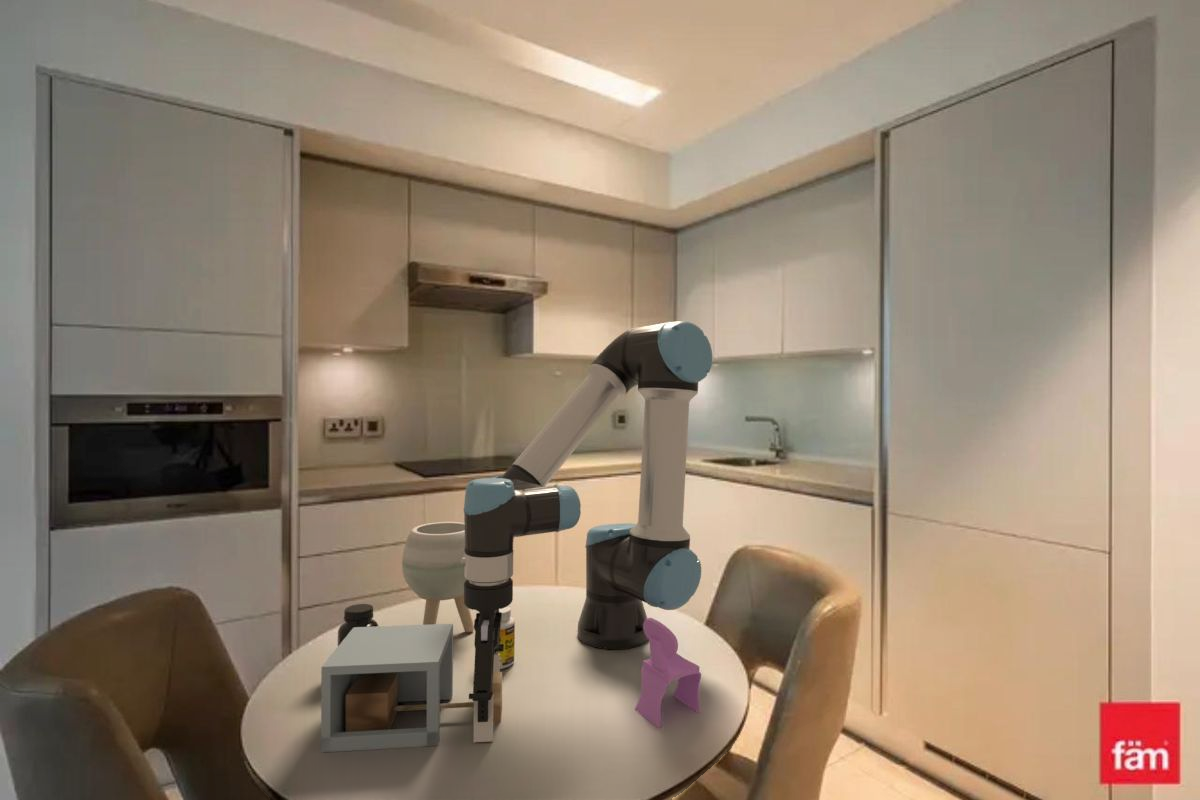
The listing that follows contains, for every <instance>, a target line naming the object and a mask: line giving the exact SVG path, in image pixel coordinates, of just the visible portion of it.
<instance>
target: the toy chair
mask: <svg viewBox="0 0 1200 800" xmlns="http://www.w3.org/2000/svg"><path fill="white" fill-rule="evenodd" d="M643 630H644V633H645V635H646V636H647V638H648V640H649V641H648V642H649V652H650V658H648V659H644V660H643V661H642V664H643V665H642V667H641V670H640V674H641V675H640V676H641V692H640V696H639V699H638V701H637V703H636V706H635V709H634V710H635V711H636V712H638V713H639V714H640V715H641V716H643V718H645V719H647V720H648V721H649V722H651V723H652V724H653V725H654V726H656V727H657V728H658V729H660V728H662V717H661V716H662V715H661V714H662V713H661V710H662V709H661V708H662V707H661V706H662V700H663V698H664V695H665V693H666V690H667V689H668V686H669V685H670V684H671V683H673V682H676V681H677V680H678V683H677V686H676V689H675V690H674V692H673V694H672V696H673V697H674V698H676V699H678V700H679V701H680V702H682V703H683V704H684V705H686V706H687V707H689V708H690V709H692V710H694V711H695V712H697V713H701V706H700V684H701V680H702V673H701V672H700V666H699V665H698V664H696V663H694V662H692V661H690V660H688V659H686V658H684V657H683V656H681V655H680V654H679V653H677V652H678V650H679V642H678V638H677V637H676V635H675V634H674V632H673V631H672V630H670V628H669V627H667V626H666V625H665V624H663V623H662V622H660V621H659V620H657V619H656V618H655V619H654V618H652V617H647V619H646V620H645V621H644V623H643Z"/></svg>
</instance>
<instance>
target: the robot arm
mask: <svg viewBox="0 0 1200 800" xmlns="http://www.w3.org/2000/svg"><path fill="white" fill-rule="evenodd" d="M712 366H713V351H712V346H711V343H710V341H709V339H708V337H707V335H705V334H704V331H703V329H701V328H700V326H698V325H696V324H695V323H693V322H690V321H684V320H683V321H682V320H681V321H671V320H670V321H667V322H663V323H658V324H651V325H645V326H638V327H632V328H630V329H628V330H626V331H624V332H623V333H621V334H619V335H618V336H617V337H616V338H614V339H613V340H612V341H611V342H610V343H609V344H608V345H606V347H605V348H604V349H603V350H602V351H601V352H600V353H599V354H598V355H597V356H596V358H595V359H594V360H593V361H592V363H590V364H589V366H588V367H587V376H586V377H585V378H584V380H583V381H582V382H581V383H580V384H579V385H578V387H576V389H575V390H574V391H573V392H572V393H571V395H570V396H569V397H568V398H567V400H565V401H564V403H563V404H562V405H561V406H560V408H559V409H558V410H557V411H556V412H555V414H554V415H553V416H552V417H551V418H550V419H549V421H548V422H547V423H546V424H545V425H544V426H543V427H542V429H540V431H539V432H538V434H537V435H536V436H535V437H534V439H532V441H530V443H529V444H528V446H527V447H526V448H525V449H523V451H522V452H521V454H519V456H518V457H517V458H516V459H515V460H514V462H513V463H512V464H511V466H509V468H507V470H506V471H505V472H504V473H503V474H502V475H496V476H493V477H491V478H490V477H485V478H484V477H483V478H475V479H473V480H471V481H469V482H468V483H467V484H466V487H465V493H464V503H463V504H464V505H463V506H464V507H463V513H464V519H463V520H464V522H463V523H465V558H461V560H460V563H461V564H466V565H465V567H464V576H465V578H466V579H467V580H466V581H465V582H464V604H465V606H466V607H467V608H469V610H471V611H472V610H474V611H476V614H475V618H474V620H473V625H474V645H473V646H474V648H475V649H474V650H475V651H474V667H473V668H474V670H473V685H472V686H473V687H472V688H473V690H472V693H471V692H469V693H468V700H472V702H474V707H473V743H484V742H485V743H487V742H493V741H494V722H493V692H492V684H493V673H497V672H501V671H500V670H501V669H500V653H496V652H501V651H504V644H499V643H500V641H501V638H500V628H501V620H502V612H499V609H502V608H505V607H507V606H508V607H509V606H510V605H511V604H512V603H513V598H514V597H513V596H514V593H513V592H514V587H513V586H514V581H513V578H512V577H513V575H514V538H521V537H527V536H534V535H541V534H548V533H555V532H556V533H559V532H562V531H565V530H570V529H573V528H574V527H575V526H577V524H578V523H579V520H580V517H581V514H582V513H581V507H582V505H581V500H580V497H579V494H578V492H577V491H576V489H574V487H572V486H570V485H558V484H554V485H552V486H549V485H548V486H547V484H549V482H551V479H552V478H553V477H554V476H555V475H556V474H557V472H558V471H559V470H560V469H561V467H562V466H563V465H564V464H565V462H566V461H567V460H568V459H569V457H571V455H572V454H573V452H575V450H576V449H577V447H579V445H580V444H581V442H582V441H583V440H584V439H585V438H586V437H587V435H588V434H589V433H590V432H591V431H592V429H593V428H594V427H595V425H596V424H597V423H598V422H599V420H600V419H601V418H602V417H603V416H604V415H605V413H606V412H607V411H608V409H610V407H611V406H612V405H613V404H614V402H615V401H616V399H623V398H624V397H625V396H626V395H627V393H629V391H630V390H631V389H632V388H634V387H636V386H637V391H638V393H639V394H640V395H641V396H642V397H643V399H644V411H643V430H642V446H641V447H642V448H641V465H640V480H639V481H640V482H639V484H640V485H639V499H638V519H637V523H630V522H629V523H610V524H609V523H608V524H601V525H597V526H593V527H591V528H590V529H589V530H588V531H587V533H586V542H585V554H586V555H585V558H586V559H585V560H586V562H585V565H586V566H585V568H586V570H585V572H586V574H585V577H586V578H585V581H586V583H585V584H586V585H585V588H586V589H585V592H586V593H585V599H584V600H585V601H584V603H583V607H582V609H581V613H580V615H579V620H578V622H577V637H578V639H579V640H580V641H581V642H582V643H584V644H586V645H587V646H591V647H594V648H598V649H605V650H625V649H630V648H635V647H639V646H641V645H643V644H645V643H646V642H647V641H648V640H649V639H648V638H647V636H646V635H645V633H644V630H643V623H644V621H645V620H646V619H647V618H648V616H647V613H646V609H645V606H644V603H646V604H648V606H651V607H652V608H653V607H654V608H659V609H662V610H665V611H675V610H677V609H680V608H681V607H683V606H684V605H686V604H687V603H688V602H689V601H690V599H691V598H692V597H693V596H694V595H695V593H696V592H697V590H698V588H699V585H700V582H701V579H702V563H701V561H700V559H699V558H698V555H697V554H696V553H695V552H694V551H692V550H691V549H690V545H691V544H690V543H691V535H690V533H689V531H687V529H686V528H685V527H684V510H685V509H684V507H685V489H686V472H687V471H686V469H687V455H688V454H687V452H688V434H689V416H690V415H689V414H690V413H689V412H690V402H691V400H692V399H694V398H695V397H696V396H697V395H698V394H699V393H698V392H699V390H698V389H699V382H702V381H703V380H704V379H705V378H706V377H708V373H710V371H711V369H712Z"/></svg>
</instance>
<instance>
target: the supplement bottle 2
mask: <svg viewBox="0 0 1200 800" xmlns="http://www.w3.org/2000/svg"><path fill="white" fill-rule="evenodd" d="M511 611H512V610H511V607H509V605H508V606H507V607H505V608H502V609H499V612H502V620H501V628H500V638H501V641H500V643H499V644H504V651H501V652H496V653H500V670H501V669H507V668H509V667H511V666H512V665H513V664H514V662H515V644H516V643H515V642H516V641H515V632H516V631H515V626H516V625H515V624H516V621H515V618H513V617H512V616H511V615H512V612H511Z"/></svg>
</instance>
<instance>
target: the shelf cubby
mask: <svg viewBox="0 0 1200 800" xmlns="http://www.w3.org/2000/svg"><path fill="white" fill-rule="evenodd" d="M453 659H454V623H438V624H437V623H436V624H431V625H423V624H406V625H384V626H383V625H380V626H379V625H378V626H376V627H354V628H353V629H352V630H351V631H350V632H349V634H348V635H347V636H346V637H345V639H344V640H343V641H342V642H341V644H340V645H339V646H338V647H336V649H335V650H334V651H333V652H332V653H331V654H330V656H329V657H328V659H326V661H325V662H324V663H323V665H322V666H321V671H320V672H321V689H320V690H321V699H320V700H321V702H320V703H321V704H320V705H321V707H320V709H321V711H320V713H321V715H320V716H321V718H320V719H321V723H320V725H321V726H320V727H321V728H320V734H321V735H320V745H321V746H320V747H321V748H320V753H333V752H353V751H369V750H384V749H385V750H387V749H401V748H403V749H404V748H406V749H407V748H420V747H422V748H423V747H436V746H439V744H440V739H441V737H440V735H441V733H440V730H441V729H440V728H441V727H440V721H441V719H440V718H441V717H440V715H441V714H440V713H441V712H440V711H441V710H440V704H441V703H440V702H441V701H442V700H452V699H453V696H454V694H453V693H454V685H453V684H454V678H453V677H454V670H453V669H454V660H453ZM396 673H398V703H399V702H400V703H401V702H419V701H420V702H421V701H426V704H427V709H426V727H414V728H413V727H411V728H395V729H389V730H373V731H355V732H346V731H344V729H346V694H347V692H348V690H349V689H350V687H351V686H352V684H353V683H354V681H355V680H356V678H357V677H358V675H374V674H396ZM440 700H441V701H440Z"/></svg>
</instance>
